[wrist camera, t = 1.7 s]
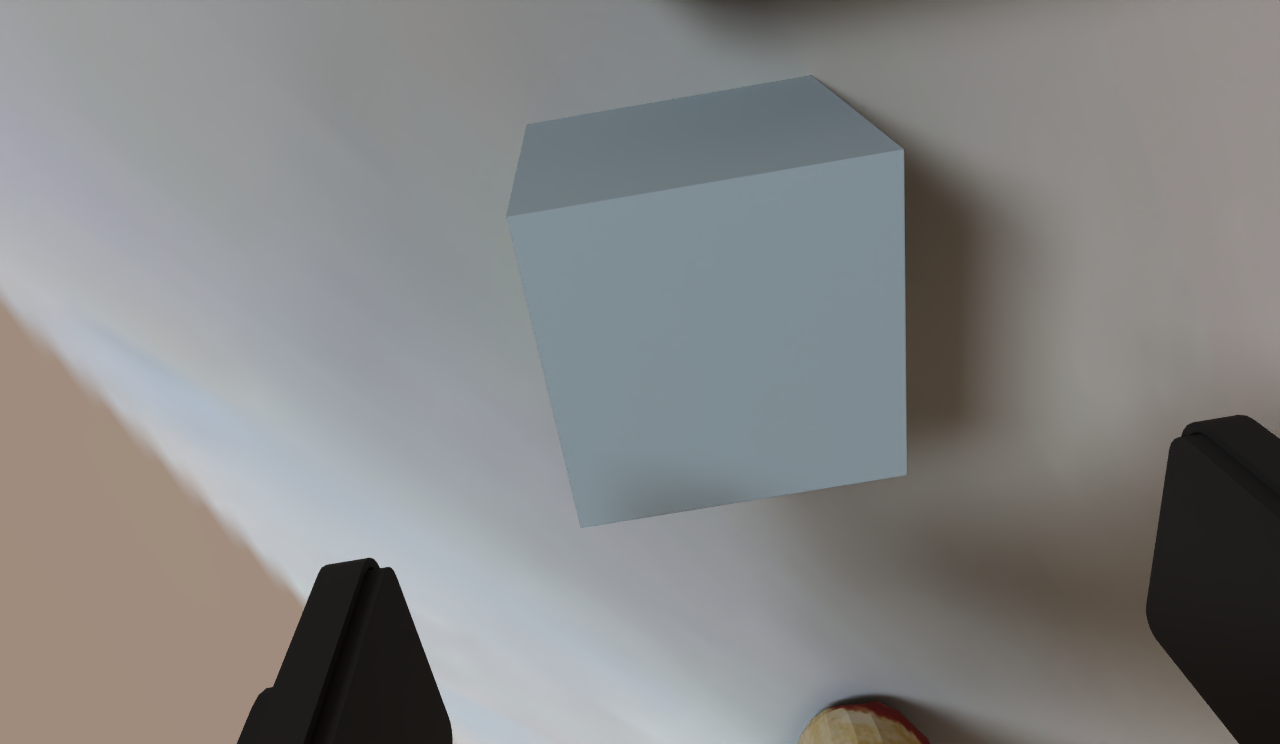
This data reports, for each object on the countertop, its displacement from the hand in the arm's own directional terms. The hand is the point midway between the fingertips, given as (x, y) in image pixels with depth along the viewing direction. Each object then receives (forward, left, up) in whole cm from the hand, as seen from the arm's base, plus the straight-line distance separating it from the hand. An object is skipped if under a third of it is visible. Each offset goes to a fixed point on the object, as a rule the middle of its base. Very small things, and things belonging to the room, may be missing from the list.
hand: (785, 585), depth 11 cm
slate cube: (-1, 0, -11) cm, 11 cm away
